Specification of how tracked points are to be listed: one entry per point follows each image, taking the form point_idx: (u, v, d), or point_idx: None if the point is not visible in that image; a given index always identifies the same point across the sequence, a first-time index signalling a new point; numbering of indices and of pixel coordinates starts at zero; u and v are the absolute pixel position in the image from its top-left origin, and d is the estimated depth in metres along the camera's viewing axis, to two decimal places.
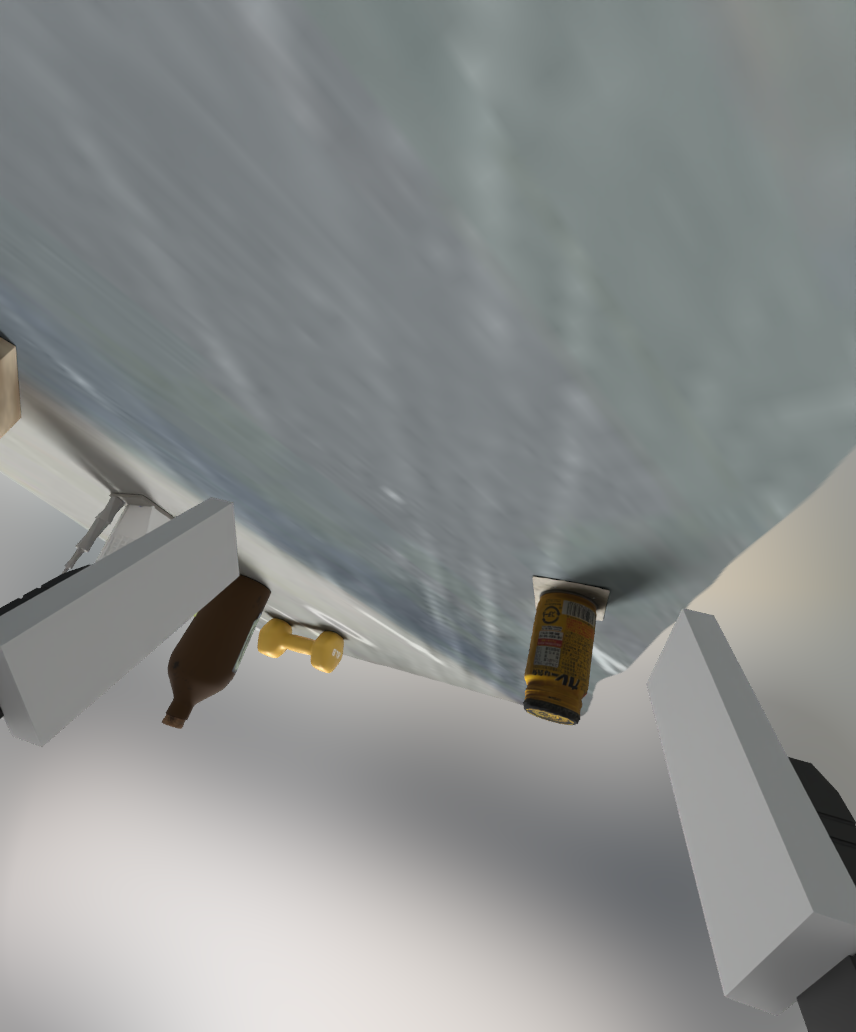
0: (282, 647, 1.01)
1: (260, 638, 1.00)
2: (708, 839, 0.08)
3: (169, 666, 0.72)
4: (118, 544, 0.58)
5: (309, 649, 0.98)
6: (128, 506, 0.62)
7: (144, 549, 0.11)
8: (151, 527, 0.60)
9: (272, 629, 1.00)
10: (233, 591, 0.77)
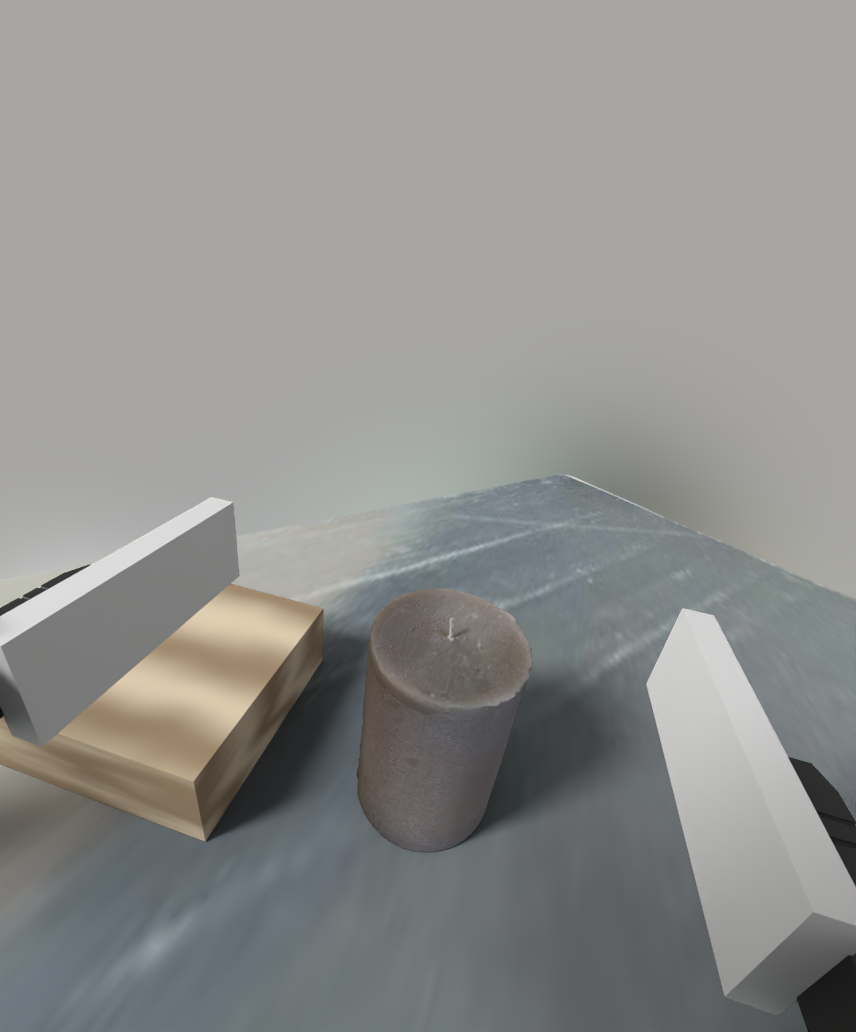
0: None
1: None
2: (708, 840, 0.08)
3: None
4: None
5: None
6: None
7: (144, 549, 0.11)
8: None
9: None
10: None
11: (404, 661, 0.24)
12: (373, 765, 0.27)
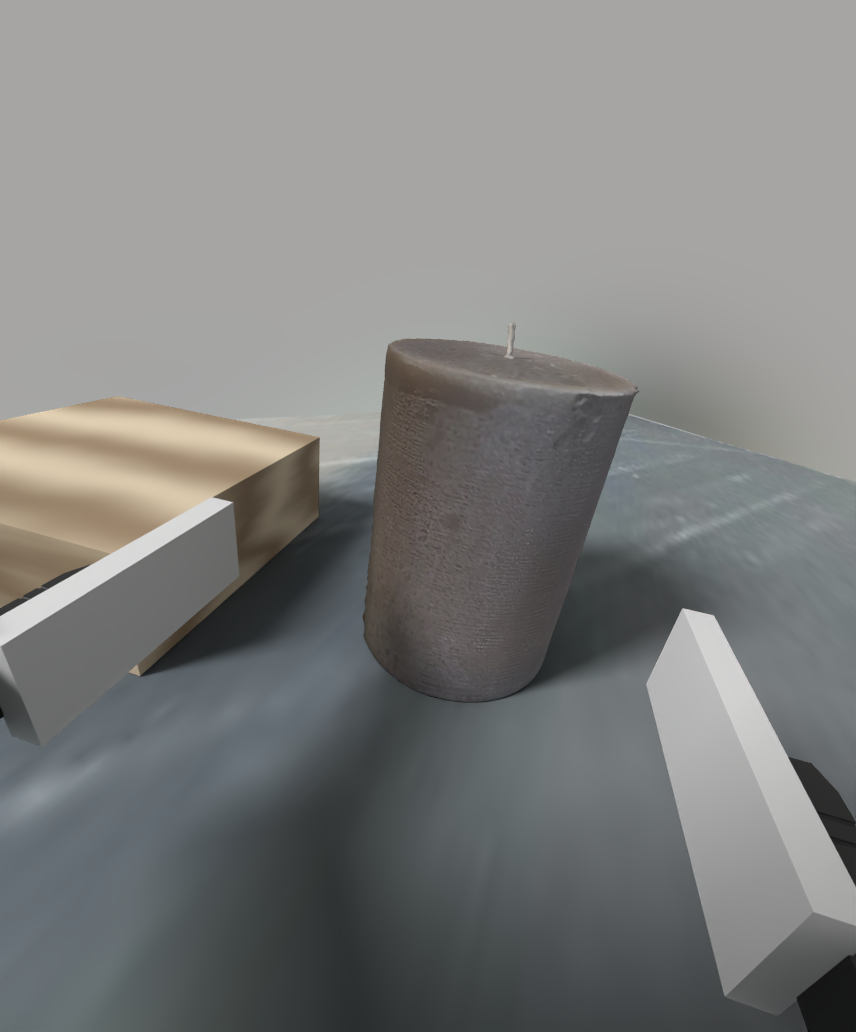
0: None
1: None
2: (707, 839, 0.08)
3: None
4: None
5: None
6: None
7: (144, 549, 0.11)
8: None
9: None
10: None
11: (442, 357, 0.15)
12: (389, 560, 0.18)
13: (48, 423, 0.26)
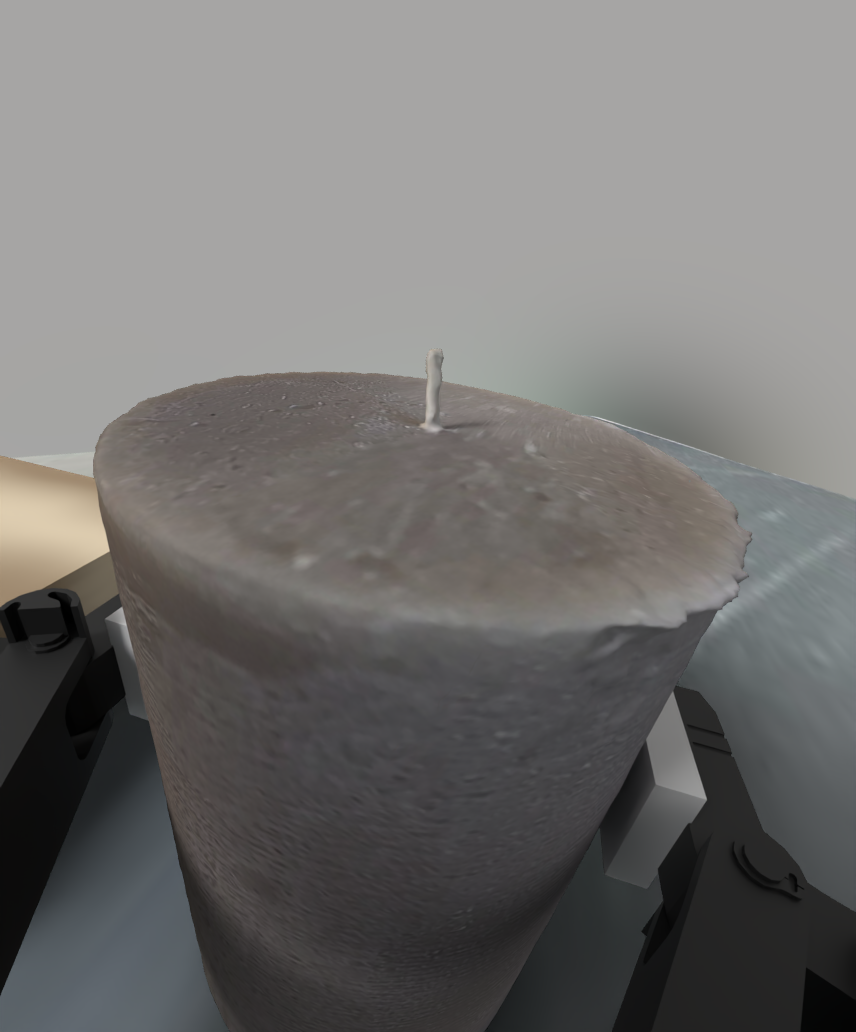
0: None
1: None
2: None
3: None
4: None
5: None
6: None
7: None
8: None
9: None
10: None
11: (219, 454, 0.05)
12: (179, 860, 0.08)
13: None
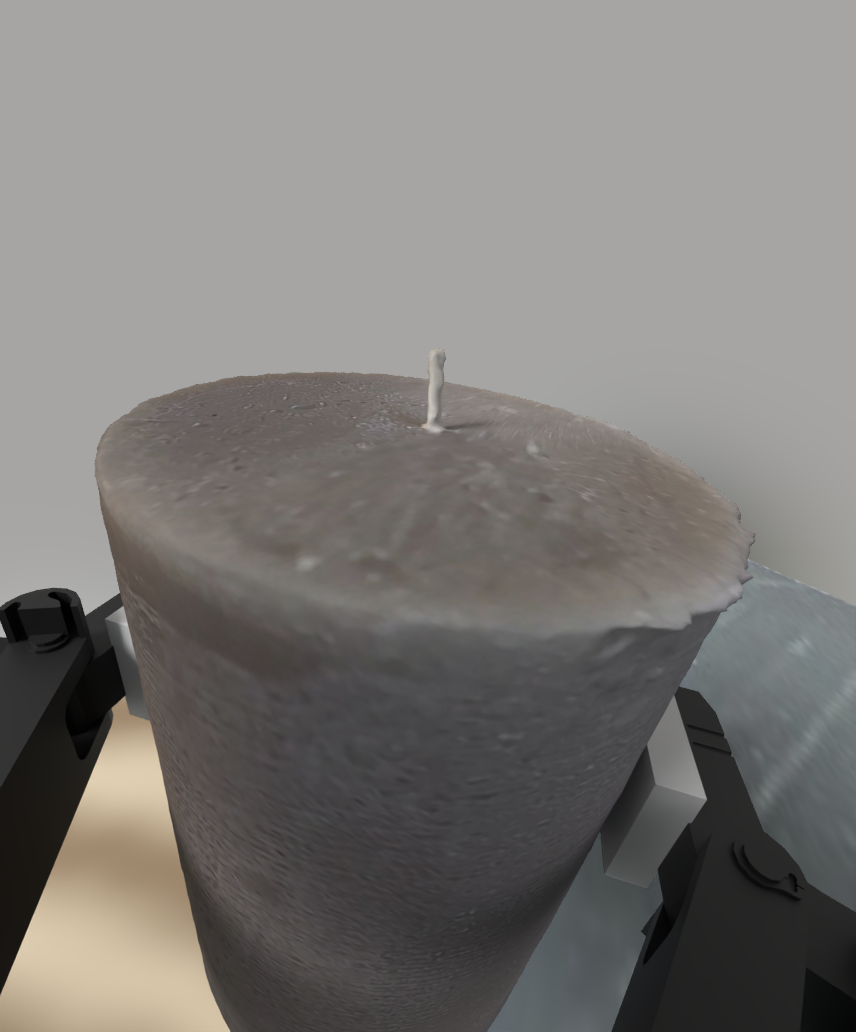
0: None
1: None
2: None
3: None
4: None
5: None
6: None
7: None
8: None
9: None
10: None
11: (221, 455, 0.05)
12: (180, 860, 0.08)
13: None
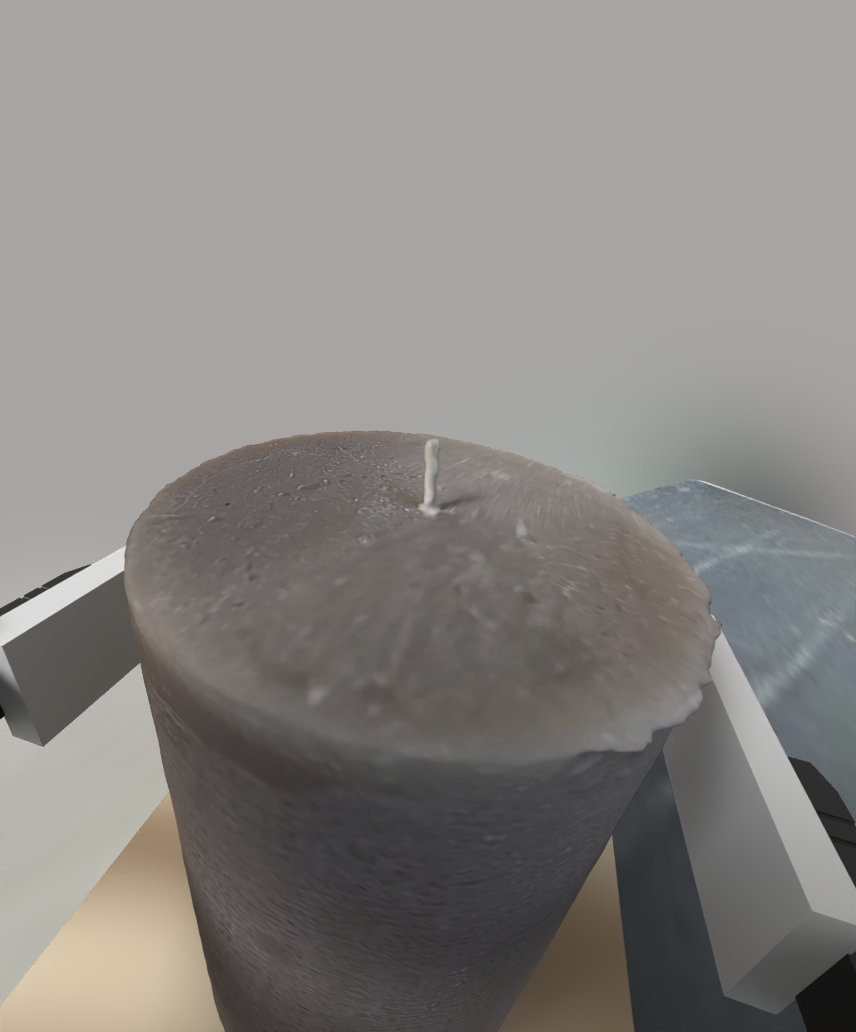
0: None
1: None
2: (707, 839, 0.08)
3: None
4: None
5: None
6: None
7: None
8: None
9: None
10: None
11: (236, 561, 0.06)
12: (194, 905, 0.09)
13: None
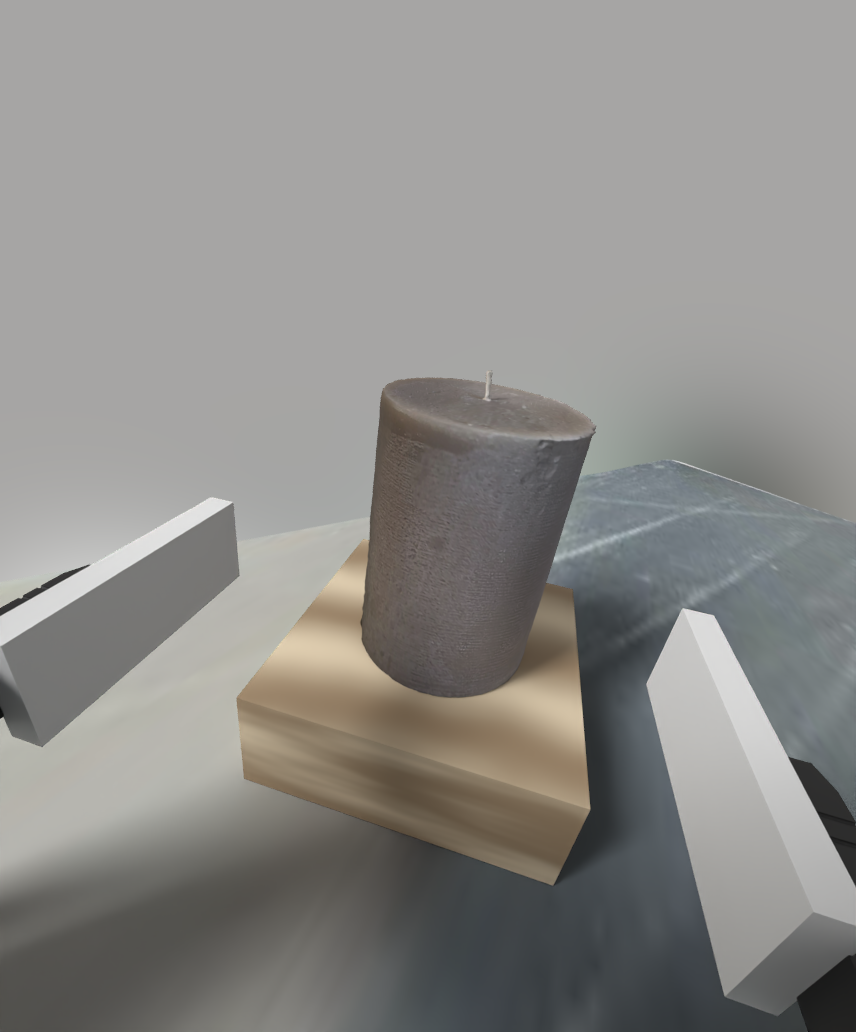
0: None
1: None
2: (708, 839, 0.08)
3: None
4: None
5: None
6: None
7: (144, 549, 0.11)
8: None
9: None
10: None
11: (428, 404, 0.18)
12: (383, 574, 0.21)
13: (355, 596, 0.28)
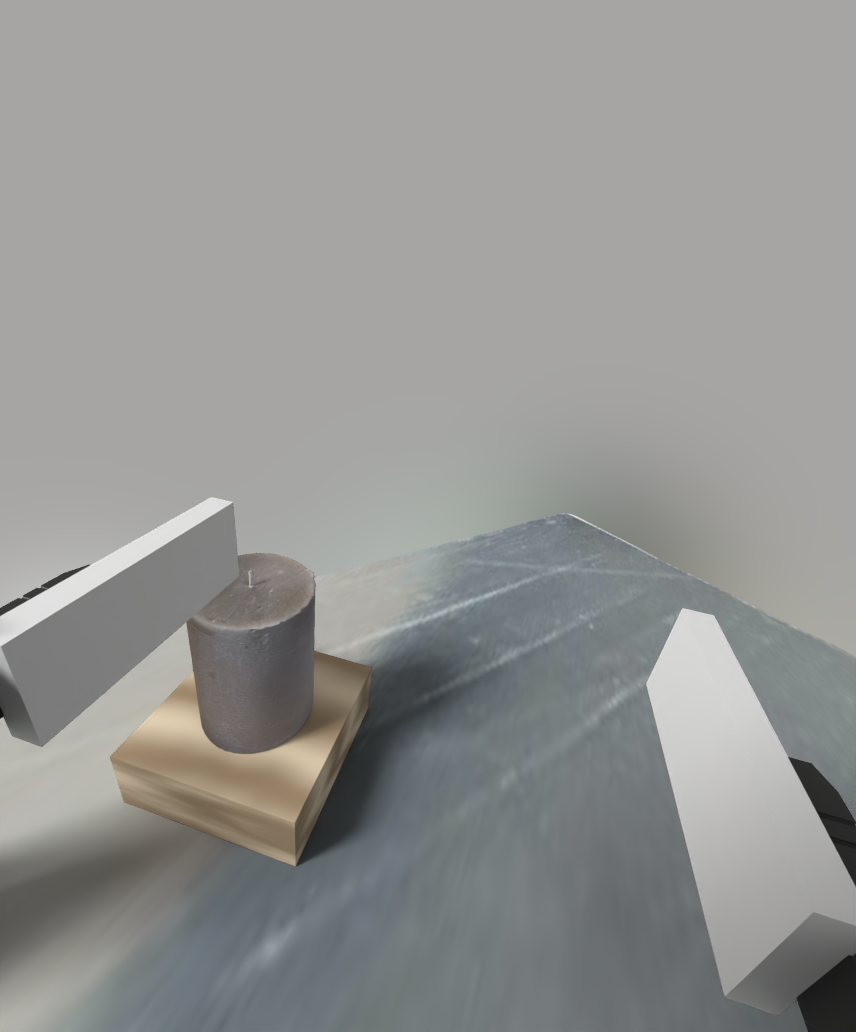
0: None
1: None
2: (707, 839, 0.08)
3: None
4: None
5: None
6: None
7: (144, 549, 0.11)
8: None
9: None
10: None
11: None
12: (196, 683, 0.35)
13: None
